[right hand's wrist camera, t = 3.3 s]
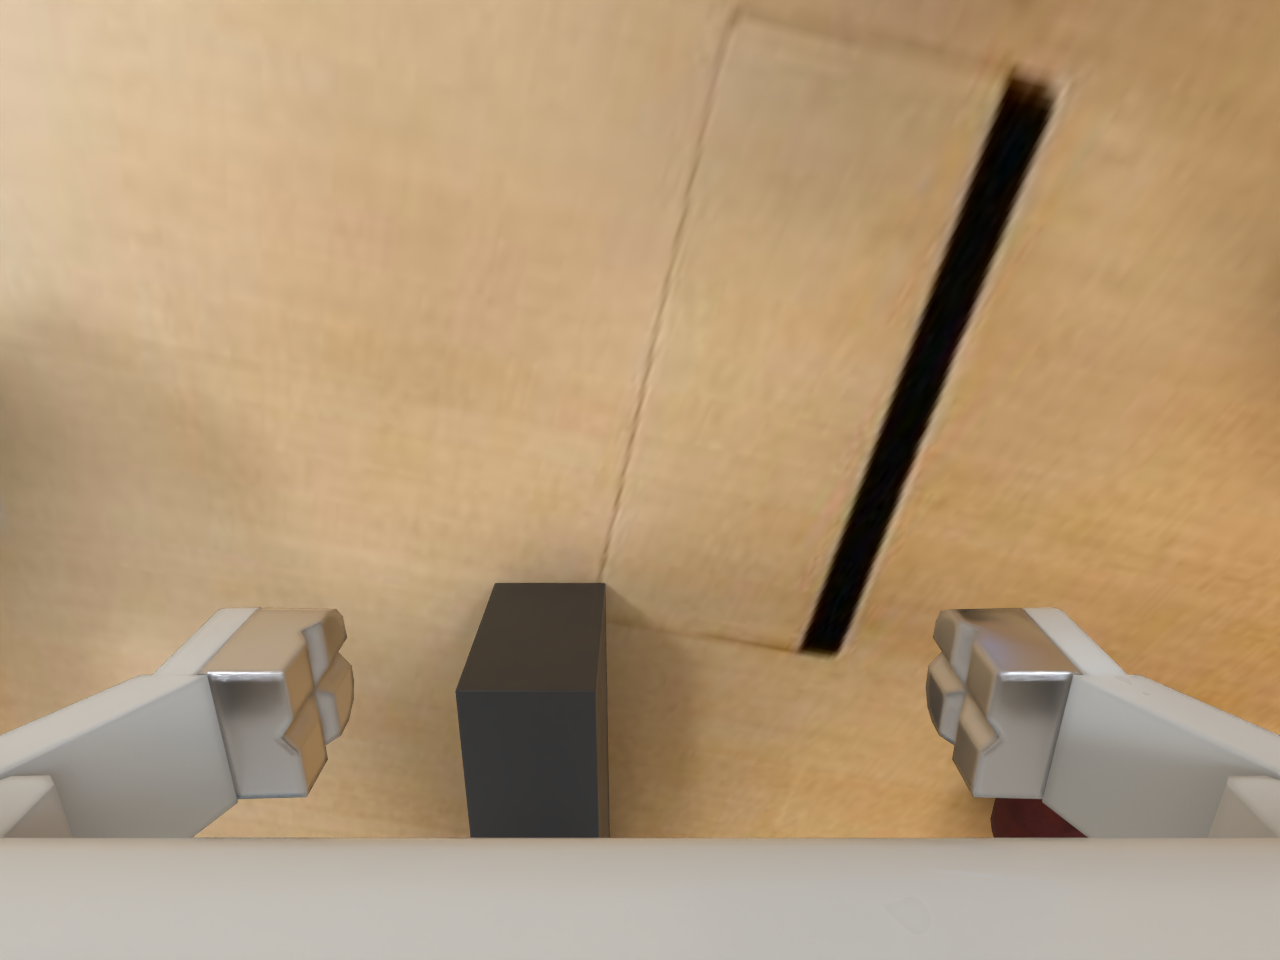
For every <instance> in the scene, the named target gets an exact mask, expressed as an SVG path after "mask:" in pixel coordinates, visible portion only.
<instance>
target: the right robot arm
mask: <svg viewBox="0 0 1280 960" xmlns="http://www.w3.org/2000/svg"><path fill="white" fill-rule="evenodd" d="M346 638H347V635H346V630H345V625H344V620H343V616H342V615H341V614H340V613H339V612H338V611H337V609H307V608H261V607H238V608H224V609H219V610H218V611H217V612H216V613H215V614H214V615H213V616H212V617H211V618H210V619H209V620H208V621H207V622H206V623H205V624H204V625H203V626H202V627H201V628H200V629H198V630H197V631H196V632H195V633H194V634H193V635H192V636H191V637H190V638H189V639H188V640H187V641H186V642H185V643H184V644H183V645H182V646H181V647H180V648H179V649H178V650H177V651H176V652H175V653H174V654H173V655H172V656H171V657H170V658H169V659H168V660H167V661H166V662H165V663H164V664H163V665H162V666H161V667H160V668H159V669H158V670H157V671H156V672H155V673H154V674H153V675H138V676H136V677H134V678H132V679H129V680H127V681H125V682H122V683H120V684H118V685H115V686H113V687H111V688H108V689H106V690H104V691H101V692H99V693H97V694H95V695H92V696H90V697H88V698H85V699H83V700H81V701H78V702H76V703H74V704H71V705H69V706H67V707H64V708H62V709H60V710H57V711H55V712H53V713H51V714H48V715H46V716H44V717H41V718H39V719H37V720H34V721H32V722H30V723H27V724H25V725H23V726H20V727H18V728H16V729H14V730H11V731H9V732H7V733H4V734H2V735H0V960H1280V735H1278V734H1275V733H1273V732H1271V731H1268V730H1266V729H1264V728H1262V727H1259V726H1257V725H1255V724H1252V723H1250V722H1248V721H1245V720H1243V719H1241V718H1238V717H1236V716H1234V715H1232V714H1229V713H1227V712H1225V711H1222V710H1220V709H1218V708H1215V707H1213V706H1211V705H1208V704H1206V703H1204V702H1202V701H1199V700H1197V699H1195V698H1192V697H1190V696H1188V695H1185V694H1183V693H1181V692H1178V691H1176V690H1174V689H1172V688H1169V687H1167V686H1165V685H1162V684H1160V683H1158V682H1155V681H1153V680H1151V679H1148V678H1146V677H1144V676H1142V675H1128V674H1126V673H1125V672H1124V671H1123V670H1122V669H1121V668H1120V667H1119V666H1118V665H1117V664H1116V663H1115V662H1114V661H1113V660H1112V659H1111V658H1110V657H1109V656H1108V655H1107V654H1106V653H1105V652H1104V651H1103V650H1102V649H1101V648H1100V647H1099V646H1098V645H1097V644H1096V643H1095V642H1094V641H1093V640H1092V639H1091V638H1090V637H1089V636H1088V635H1087V634H1086V633H1085V632H1084V631H1083V630H1082V629H1081V628H1080V627H1079V626H1078V625H1077V624H1076V623H1075V622H1074V621H1073V620H1072V619H1071V618H1069V617H1068V616H1067V615H1066V614H1065V613H1064V612H1063V611H1062V610H1060V609H1057V608H1054V607H1035V608H997V609H957V610H942V611H940V613H939V616H938V618H937V620H936V623H935V629H934V635H933V638H934V640H935V642H936V643H937V645H938V646H939V648H940V649H941V651H942V652H941V653H940V654H939V655H938V656H937V657H936V658H935V659H934V661H933V662H932V663H931V664H930V665H929V666H928V673H927V681H926V695H927V706H928V710H929V713H930V717H931V720H932V723H933V725H934V726H935V728H936V730H937V732H938V734H939V736H941V737H943V738H944V739H946V740H947V741H949V742H950V743H952V744H953V745H955V746H954V752H953V758H952V760H953V761H954V763H955V765H956V767H957V769H958V770H959V772H960V774H961V776H962V778H963V779H964V781H965V783H966V785H967V786H968V788H969V790H970V792H971V794H972V795H973V797H986V798H1023V799H1043V800H1042V802H1043V803H1044V804H1045V805H1047V806H1048V807H1049V808H1050V809H1052V810H1053V811H1054V812H1056V813H1057V814H1058V815H1059V816H1061V817H1062V818H1063V819H1065V820H1066V821H1067V822H1069V823H1070V824H1071V825H1072V826H1074V827H1075V828H1076V829H1078V830H1079V831H1080V832H1081V833H1083V834H1084V835H1085V836H1087V837H1088V838H192V837H194V836H195V835H196V834H197V833H199V832H200V831H201V830H203V829H204V828H205V827H207V826H208V825H209V824H210V823H212V822H213V821H214V820H216V819H217V818H218V817H220V816H221V815H222V814H223V813H225V812H226V811H227V810H229V809H230V808H231V807H232V806H234V805H235V804H236V803H237V802H238V801H237V799H256V798H292V797H307V796H308V794H309V792H310V790H311V788H312V787H313V785H314V783H315V781H316V779H317V778H318V776H319V774H320V772H321V770H322V769H323V767H324V765H325V763H326V761H327V760H328V758H327V752H326V746H325V745H327V744H328V743H330V742H331V741H333V740H334V739H336V738H337V737H339V736H341V734H342V732H343V730H344V728H345V726H346V724H347V722H348V721H349V717H350V713H351V708H352V704H353V700H354V679H353V672H352V666H351V665H350V664H349V663H348V662H347V661H346V659H345V658H344V657H343V656H342V655H341V654H340V653H339V652H338V651H339V649H340V648H341V646H342V645H343V643H344V642H345V640H346Z"/></svg>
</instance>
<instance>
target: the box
mask: <svg viewBox="0 0 1280 960" xmlns="http://www.w3.org/2000/svg"><path fill="white" fill-rule="evenodd" d="M456 700H457V709H458V719H459V729H460V738H461V748H462V758H463V767H464V777H465V787H466V796H467V806H468V816H469V825H470V835H471V838H610V837H609V780H608V723H607V665H606V608H605V584H604V583H495V585H494V588H493V591H492V593H491V596H490V599H489V602H488V604H487V607H486V610H485V612H484V615H483V618H482V621H481V623H480V626H479V629H478V632H477V634H476V637H475V640H474V642H473V645H472V648H471V651H470V653H469V656H468V659H467V661H466V664H465V667H464V670H463V672H462V675H461V678H460V681H459V683H458V686H457V689H456Z"/></svg>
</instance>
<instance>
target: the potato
mask: <svg viewBox="0 0 1280 960" xmlns="http://www.w3.org/2000/svg"><path fill="white" fill-rule="evenodd" d="M1042 800H1043V799H1023V798H996V800H995V803H994V807H993V811H992V815H991V826H992V832H993V836H994V838H1088V837H1087V836H1085V835H1084V834H1083V833H1081V832H1080V831H1079V830H1078V829H1076V828H1075V827H1074V826H1072V825H1071V824H1070V823H1069V822H1067V821H1066V820H1065V819H1063V818H1062V817H1061V816H1059V815H1058V814H1057V813H1056V812H1054V811H1053V810H1052V809H1050V808H1049V807H1048V806H1047V805H1045V804H1044V803H1043V802H1042Z"/></svg>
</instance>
